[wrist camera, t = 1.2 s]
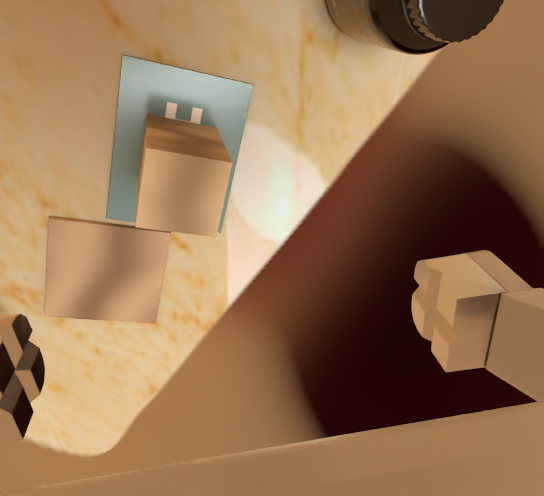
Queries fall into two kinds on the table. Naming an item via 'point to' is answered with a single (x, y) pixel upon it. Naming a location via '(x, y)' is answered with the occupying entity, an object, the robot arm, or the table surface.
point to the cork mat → (104, 270)
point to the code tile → (176, 105)
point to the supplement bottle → (412, 22)
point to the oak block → (182, 177)
